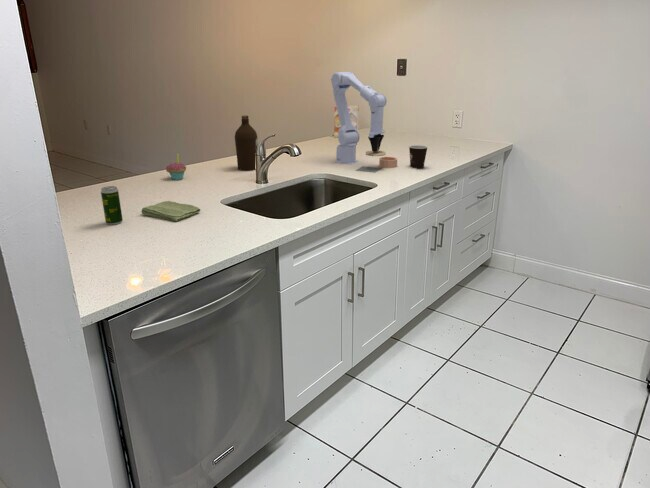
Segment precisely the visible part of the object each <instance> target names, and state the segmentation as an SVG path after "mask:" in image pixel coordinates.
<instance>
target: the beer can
mask: <svg viewBox="0 0 650 488" xmlns="http://www.w3.org/2000/svg"><path fill="white" fill-rule="evenodd" d="M100 197H101V201H102V209H103V214H104V219H105V220H104V221H105V223H106V224H107V225H109V226H116V225H117V226H118V225H120V224H122V223H123V213H122V212H123V211H122V206H121V201H120V194H119V189H118V187H117V186H115V185H111V186H109V185H108V186H103V187H101V189H100Z"/></svg>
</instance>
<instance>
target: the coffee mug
mask: <svg viewBox="0 0 650 488" xmlns="http://www.w3.org/2000/svg"><path fill="white" fill-rule="evenodd" d="M408 149H409V166H410V168H412V169H416V170H422V169H424V167H425V163H426V162H425V161H426V156H427V151H428V146H426V145H421V144H420V145H415V144H414V145H410V146H408Z"/></svg>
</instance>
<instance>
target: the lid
mask: <svg viewBox="0 0 650 488" xmlns="http://www.w3.org/2000/svg"><path fill="white" fill-rule="evenodd" d="M365 155H366V156H369V157H385V156H386V155H387V153H386V151H382V150H378V149H377V151H372V150H367V151H365Z"/></svg>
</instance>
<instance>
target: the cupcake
mask: <svg viewBox="0 0 650 488" xmlns="http://www.w3.org/2000/svg"><path fill="white" fill-rule="evenodd" d="M179 154H180V153H179V152H177V154H176V162H172V163H169V164H168V165H167V166H166V169H165V171H166V172H167V173H169V175H170V178H171V179H172V180H175V181H176V180H177V181H178V180H183V178H184V175H185V172H186V171H187V167H186V165H185V164H184V163H181V162H179V159H180V158H179V157H180V155H179Z"/></svg>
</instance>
